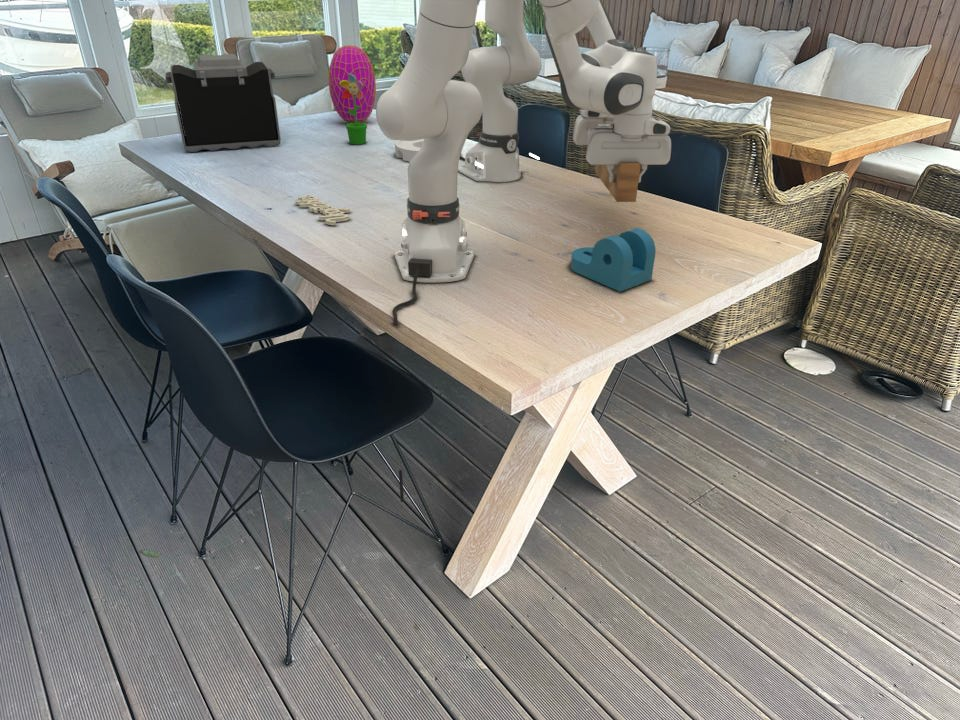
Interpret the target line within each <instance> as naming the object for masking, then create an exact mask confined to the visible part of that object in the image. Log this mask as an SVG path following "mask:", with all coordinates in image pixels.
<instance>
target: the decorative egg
mask: <svg viewBox="0 0 960 720" xmlns="http://www.w3.org/2000/svg"><path fill="white" fill-rule="evenodd" d="M348 73H350V74H352V75H354V76H355V78H356V83H357V82H358V81H361V82H362V84H363V89H361V90H360V91H361V92H362V93H363V98H362V100H359V99H358V98H357V97H356V95H355V103H356V106H359V109H358V110H356V116H357V123H364V122H365V121H366V120H368V118H369V117H370V116H371V114H372V112H373V111H374V106H375V103H376V102H375V101H376V96H377V95H376V94H377V83H376V82H377V81H376V75H375V71H374V68H373V63H372V62H371V60H370V57H369V56H368V54H367V53H366V51H365V50H363V48H361V47H359V46H357V45H353V44H352V45H351V44H348V45H343V46H340V47H338V48H337V49H336V51H334V53H333V56H332V57H331V61H330V63H329V69H328V90H329V96H330V99H331V103H332V105H333V108H334V110H335V111H336V113H337V114H338V116H339V118H341V119H342V120H343V121H344V122H346V123H348V124H349V123H355V115H351V114H349V112H348V111H349V110H354V100H353V95H352V96H351V97H350V98H348V99H341V97H342V94H343V93H344V91H345V90H347V89H346V88H343V87H342V86H341V85H340V84H339V83H340V82H341V81H342V80H346V81H349V78H348Z"/></svg>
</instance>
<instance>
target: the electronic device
mask: <svg viewBox="0 0 960 720" xmlns="http://www.w3.org/2000/svg"><path fill="white" fill-rule="evenodd" d="M197 58H198V59H197V60H195V61H193V67H194V69H193V68H189V67H187V66H184V65H181V64H171V65H170V71H167V72H165V74H164V75H165V82H166V84H171V85H172V90H173V94H174V106H175V107H174V108H175V111H176V112H175V113H176V116H177V121H178V126H179V131H180V136H181V141H182V146H183V149H184V150H185V151H186V152H187V153H188V152H189V153H199V152H200V151H202V150H203V151H204V150H207V151H210V152H214V151H219V150H220V149H228V150H239V149H240V148H245V147H247V148H250V149H255V148H258V147H260V146H267V147H277V146H279V145H281V141H282V139H281V131H280V125H279V117H278V109H277V102H276V97H275V95H274V89H273V81H272V80H273V79H276V73H275V71H274V70H273V69H272V68H270V67H268V66H266V64H265V63H264V62H263V61H255V62H253V63H251V64H249V65H247V66H246V65H245V63H244V62H243V60H241V59H239V58H238V57H237V55H236V54H235V53H222V54H218V55H215V54H213V55H212V54H198V57H197Z"/></svg>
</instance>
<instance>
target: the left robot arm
mask: <svg viewBox="0 0 960 720" xmlns="http://www.w3.org/2000/svg"><path fill="white" fill-rule="evenodd" d="M538 1H539V3H540V5H541V7H542V10H543V13H544V17H543V29H544V33H545V38H546V41H547V43H548V47H549V50H550V53H551V56H552V59H553V62H554V65H555V68H556V70H557V75H558V78H559V85H560V94H561V97H562V99H563V102H564V103H565V105H566V106H567V107H569V108H570V109H573V110H579V109H580V110H589V111H593V112H598V113H603V114H608V115H614V118H613V124H604V125H600V124H596V125H594V126H592V127H591V128H590V129H589V130H588V134H587V140H588V145H586V146H587V147H586V152H585V160H586V162H587V163H588V164H589V165H592V166H596V165H606V168H607V171H608V173H609V174H610V175H609V182H610V183H616V178H617V176H616V174H613V173H612V171H611V169H613V166H614V165H619V162H639V163H640V164H641V165H640V173H639V181H638V184H640V183H641V182H642V177H643V175H644V174H645V173H646V171H647V170H648V166H649V165H650V166H651V165H658V166H660V165H661V166H662V165H668V163H669V162H670V161H671V155H672V154H671V153H672V139H671V138H670V136H669V134H670V132H671V126H670V125H669V124H668V123H667V122H666V121H664V120H662V119H660V118H657V117H653V99H654V96H655V94H656V87H657V77H658V62H657V57H656V56H655V55H654V53H651V52H648V51H643V50H637V49H635V50H626V51H624V53H623V56H622V58H621V59H620V60H619V61H618V62H617V63H616V64H614V65H613V66H611V67H610V68H605V67H599V66H594V65H591V64H589V63H587V62H586V61H585V60H584V59H583V58H582V56H581V53H582V52H581V50H580V47H579V43H578V39H577V36H576V34H577V33H579V32H581V31H582V30H583V29H584V28H585V27H587V26H586V25H587V24H588V23H589V22H590V21H591V20H592V18H593V17H594V15H595V13H596V11H597V8H598V4H599V0H538ZM480 2H481V0H420V5H419V12H418V18H417V23H416V24H417V25H416V30H415V35H414V39H413V40H414V41H413V45H412V48H411V52H410V55H409V57H408V60H407V62H406V63H405V65H404V68H403V69H402V70H401V73H400V74H399V76H398V78H397V79H396V80H395V81H394V83H393V84H392V85H391V86H390V87H389V88H388V89H387V90H386V91H384V92H383V93H382V94H381V95H379V98H378V99H377V104H376V106H375V107H376V108H375V118H376V122H377V125H378V127H379V129H380V131H381V132H382V134H383V135H384V136H385V137H386V138H388V139H389V140H390V141H398V140H399V141H415V140H421V139H424V142H423V144H422V147H421V148H420V150H419V152H418V153H417V154H416V155H415V156H414V157H413V158H412V159H411V161H410V162H409V163H408V165H407V184H408V186H407V187H408V198H407V199H406V211H407V213H406V214H407V217H406V218H405V219H404V220H403V221H402V223H401V231H402V242H401V244H400V247H401V249H400V250H397V251H395V252H394V259H395V262H396V264H397V267H398V269H399V272H400V274H401V277H402V279H403V280H405V281H408V282H412V289H411V290H412V291H411V292H412V296H413V297H412V298H411V299H409V300H407V301H404V302H403V301H402V302H401V303H398V304H396V305H395V306H394V307H393V308H392V311H391V312H392V316H393V327H397V326H398V314H397V310H399V309H400V308H403V307H406V306H408V305H410V304H413V303H415V302H416V300H417V299H418V295H417V283H431V284H433V283H435V284H437V283H451V282H457V281H461V280H464V279H466V277H467V274H468V273H469V269H470V267H471V265H472V262H473V260H474V257H475V251H473V250H471V249H468V245H469V243H468V242H467V241H466V238H467V236H468V232H467V231H466V221H465V220H464V219H463V218H461V216H460V208H461V207H460V206H461V205H460V198H459V197H458V172H459V171H458V167H459V163H460V156H462V155H461V154H462V151H463V148H464V146H465V143H466V141H467V138H468V136H469V135H470V133H471V131H472V130H473V129H474V128H475V126H476V125H477V124H478V123H479V121H480V120H481V117H482V110H483V103H482V98H481V95H480V93H479V91H478V89H477V88H476V87H475V86H474V85H473V84H471V83H468V82H466V81H462V80H455V79H454V80H453V77H454V76H456V74H457V73H459V72H461V69H462V68H463V66H464V65H465V64H466V62H467V59H468V55H469V51H470V50H471V46H472V45H471V44H472V40H473V35H474V30H475V24H476V21H477V20H476V18H477V14H478V7H479V6H480ZM592 128H594V129H592ZM398 479H399V481H398V483H399V497H400V498H399V499H400V503H404V502H405V499H404V498H405V497H404V480H403V469H400V470H398Z"/></svg>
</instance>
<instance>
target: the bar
mask: <svg viewBox="0 0 960 720" xmlns="http://www.w3.org/2000/svg"><path fill="white" fill-rule="evenodd" d="M640 165H641V164H640V163H639V162H619V165H614V166H613V169H611V171H612V173H613V174H616V176H617V178H616V183H610V182H609V175H610V174H609V173H608V171H607V168H606V165H595V169H594V171H595V172H594V173H595V174H596V176H598V178H599V180H600V181H601V183H602V184H603V185H604V186H605V188H606V189H607V190H608V192H609V193H610V195H611V196H612V197H613V199H614V201H615V202H616V203H637V196H638V187H639V183H638V181H639V173H640V169H641V168H640Z"/></svg>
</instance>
